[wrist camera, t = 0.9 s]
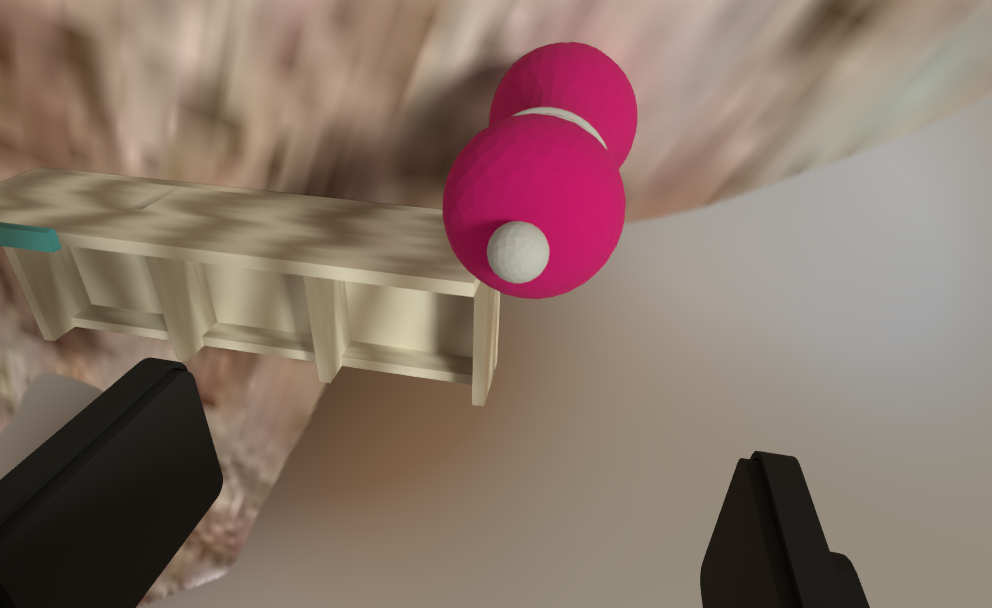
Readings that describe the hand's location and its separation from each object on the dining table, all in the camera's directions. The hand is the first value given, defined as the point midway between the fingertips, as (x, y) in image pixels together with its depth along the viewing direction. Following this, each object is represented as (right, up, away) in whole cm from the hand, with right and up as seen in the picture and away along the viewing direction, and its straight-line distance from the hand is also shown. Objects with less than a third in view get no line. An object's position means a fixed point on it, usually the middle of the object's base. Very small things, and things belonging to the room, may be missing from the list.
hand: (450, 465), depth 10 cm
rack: (-15, +5, +32) cm, 36 cm away
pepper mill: (+5, +14, +23) cm, 27 cm away
